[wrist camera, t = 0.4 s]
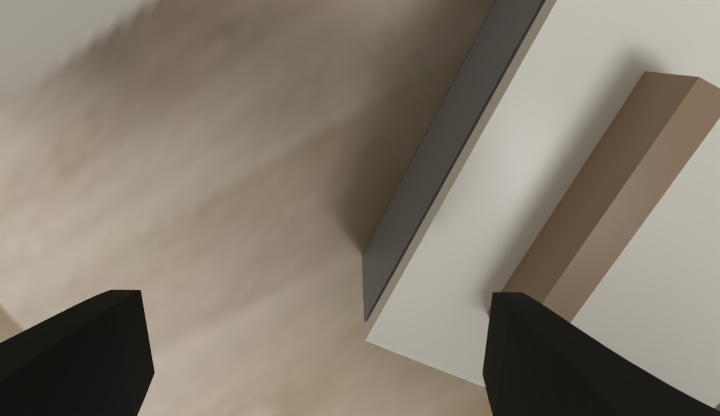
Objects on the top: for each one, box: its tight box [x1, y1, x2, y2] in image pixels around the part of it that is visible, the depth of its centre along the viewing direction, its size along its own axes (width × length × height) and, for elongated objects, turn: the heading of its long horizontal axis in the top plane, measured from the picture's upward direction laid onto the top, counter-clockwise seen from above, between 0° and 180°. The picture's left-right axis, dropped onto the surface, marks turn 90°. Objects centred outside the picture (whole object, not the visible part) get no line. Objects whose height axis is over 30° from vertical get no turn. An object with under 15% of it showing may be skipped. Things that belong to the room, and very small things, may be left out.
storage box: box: [362, 0, 546, 322], centre depth 17 cm, size 12×13×5 cm
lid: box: [365, 0, 720, 408], centre depth 13 cm, size 12×13×3 cm
